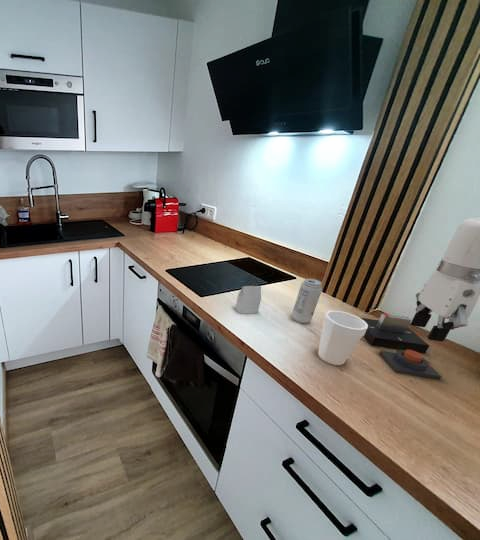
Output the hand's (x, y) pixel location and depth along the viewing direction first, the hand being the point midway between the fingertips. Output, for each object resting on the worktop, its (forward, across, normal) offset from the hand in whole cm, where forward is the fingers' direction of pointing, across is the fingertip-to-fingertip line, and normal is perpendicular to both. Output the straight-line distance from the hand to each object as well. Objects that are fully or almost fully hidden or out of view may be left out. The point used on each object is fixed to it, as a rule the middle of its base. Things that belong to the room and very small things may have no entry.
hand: (426, 332), depth 76 cm
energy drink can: (+12, +18, +22) cm, 31 cm away
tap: (+8, +14, -2) cm, 16 cm away
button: (+9, 0, 0) cm, 9 cm away
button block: (+12, 0, 0) cm, 12 cm away
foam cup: (+12, -2, +20) cm, 23 cm away
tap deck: (+12, +14, -2) cm, 18 cm away
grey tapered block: (+12, +19, +40) cm, 46 cm away
